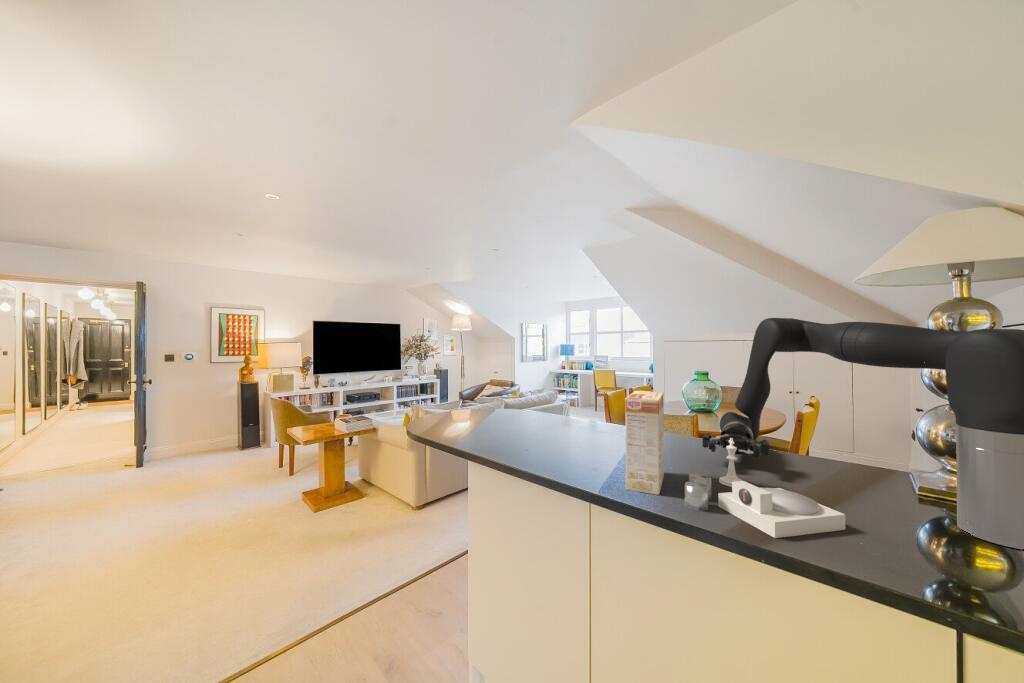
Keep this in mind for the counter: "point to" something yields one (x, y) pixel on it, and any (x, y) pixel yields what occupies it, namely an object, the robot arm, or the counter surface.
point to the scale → (779, 511)
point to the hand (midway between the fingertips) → (733, 450)
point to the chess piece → (730, 466)
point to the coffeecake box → (644, 441)
